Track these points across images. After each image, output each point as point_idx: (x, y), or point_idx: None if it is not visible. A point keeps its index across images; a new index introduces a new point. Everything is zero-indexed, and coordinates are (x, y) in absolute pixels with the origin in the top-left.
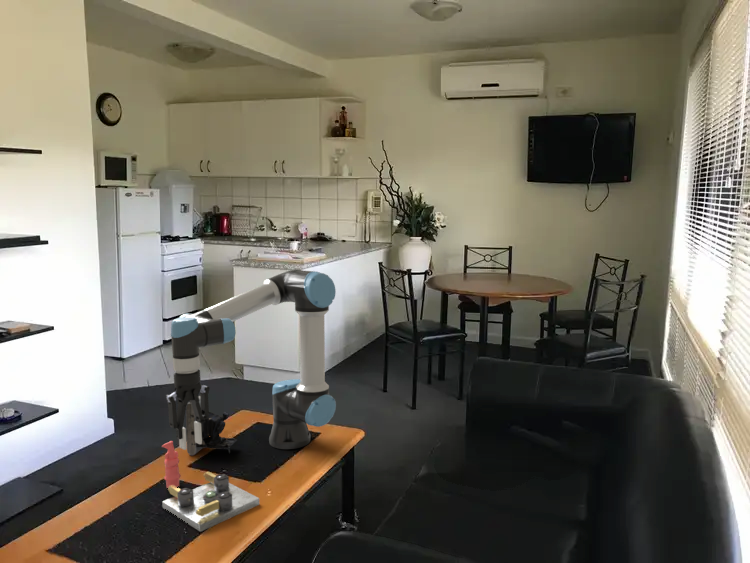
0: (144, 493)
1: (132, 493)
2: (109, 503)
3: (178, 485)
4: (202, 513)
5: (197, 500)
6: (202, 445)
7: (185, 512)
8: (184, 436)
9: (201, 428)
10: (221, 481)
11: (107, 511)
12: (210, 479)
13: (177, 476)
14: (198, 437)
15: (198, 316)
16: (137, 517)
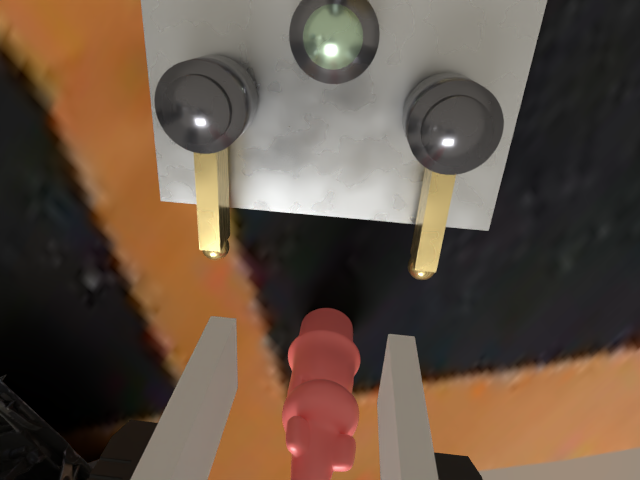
0: (430, 367)
1: (455, 398)
2: (557, 400)
3: (314, 314)
4: None
5: (383, 94)
6: (76, 466)
7: (517, 28)
8: (423, 456)
9: (128, 465)
10: (222, 69)
11: (610, 361)
12: (224, 195)
13: (317, 338)
14: (217, 384)
15: None
16: (598, 234)
